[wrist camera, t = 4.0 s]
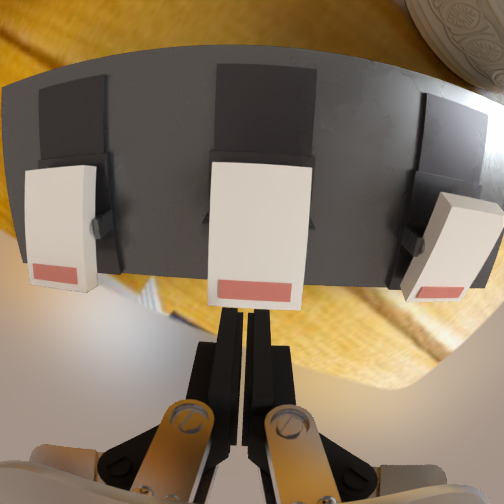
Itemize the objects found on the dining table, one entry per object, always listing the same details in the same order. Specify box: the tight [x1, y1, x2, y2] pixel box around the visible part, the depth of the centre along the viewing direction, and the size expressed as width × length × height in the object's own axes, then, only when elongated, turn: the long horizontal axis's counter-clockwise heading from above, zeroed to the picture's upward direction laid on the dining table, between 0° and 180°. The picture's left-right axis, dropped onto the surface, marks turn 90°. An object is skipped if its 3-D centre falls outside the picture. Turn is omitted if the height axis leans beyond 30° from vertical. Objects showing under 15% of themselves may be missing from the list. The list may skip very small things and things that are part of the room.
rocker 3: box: [400, 192, 504, 302], centre depth 13 cm, size 4×6×2 cm, turn 177°
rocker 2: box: [208, 162, 312, 310], centre depth 13 cm, size 4×6×2 cm, turn 177°
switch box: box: [1, 45, 504, 290], centre depth 15 cm, size 38×12×7 cm, turn 87°
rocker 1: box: [25, 165, 98, 293], centre depth 13 cm, size 4×6×2 cm, turn 177°
